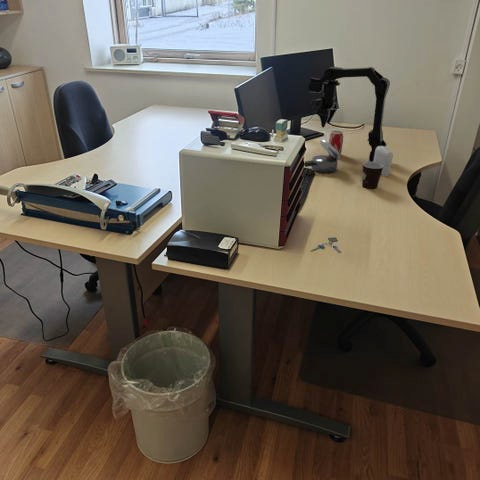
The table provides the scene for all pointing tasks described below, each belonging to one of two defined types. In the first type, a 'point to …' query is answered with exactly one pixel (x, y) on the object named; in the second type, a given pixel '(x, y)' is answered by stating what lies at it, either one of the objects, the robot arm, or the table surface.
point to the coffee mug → (371, 174)
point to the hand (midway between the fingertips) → (325, 125)
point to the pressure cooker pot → (323, 164)
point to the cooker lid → (330, 149)
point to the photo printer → (383, 159)
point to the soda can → (336, 140)
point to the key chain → (329, 243)
